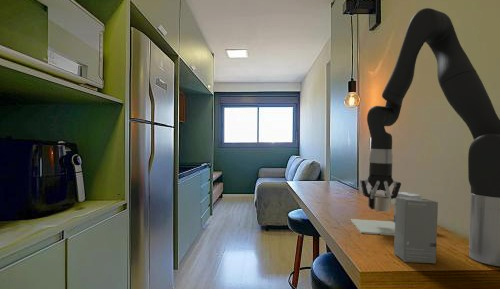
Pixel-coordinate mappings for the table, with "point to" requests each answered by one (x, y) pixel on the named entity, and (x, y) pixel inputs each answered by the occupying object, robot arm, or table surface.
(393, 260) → the table surface
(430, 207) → the skincare box
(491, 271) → the table surface
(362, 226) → the mat
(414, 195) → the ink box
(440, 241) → the table surface
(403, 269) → the table surface
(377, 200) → the walnut block
